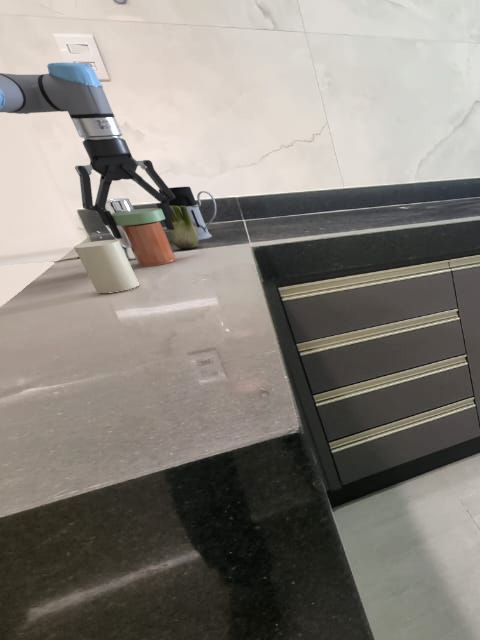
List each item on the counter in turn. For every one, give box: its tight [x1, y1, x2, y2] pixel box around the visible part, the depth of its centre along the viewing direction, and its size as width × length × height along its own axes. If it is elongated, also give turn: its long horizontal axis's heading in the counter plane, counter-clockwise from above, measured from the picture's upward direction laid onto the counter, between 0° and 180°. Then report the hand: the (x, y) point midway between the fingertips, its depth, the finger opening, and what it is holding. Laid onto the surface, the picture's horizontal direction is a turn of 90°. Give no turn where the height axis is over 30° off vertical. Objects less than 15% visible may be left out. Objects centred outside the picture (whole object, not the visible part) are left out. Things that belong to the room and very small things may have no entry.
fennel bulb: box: [168, 206, 199, 250], centre depth 148 cm, size 6×5×12 cm
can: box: [73, 239, 140, 294], centre depth 113 cm, size 7×7×10 cm
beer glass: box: [104, 197, 136, 261], centre depth 140 cm, size 7×7×15 cm
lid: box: [111, 207, 165, 226], centre depth 131 cm, size 10×10×2 cm
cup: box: [121, 221, 177, 267], centre depth 134 cm, size 7×7×10 cm
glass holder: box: [158, 186, 217, 241], centre depth 161 cm, size 9×14×15 cm, turn 96°
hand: (145, 233), depth 133 cm, fingers closed on lid, 10 cm apart
